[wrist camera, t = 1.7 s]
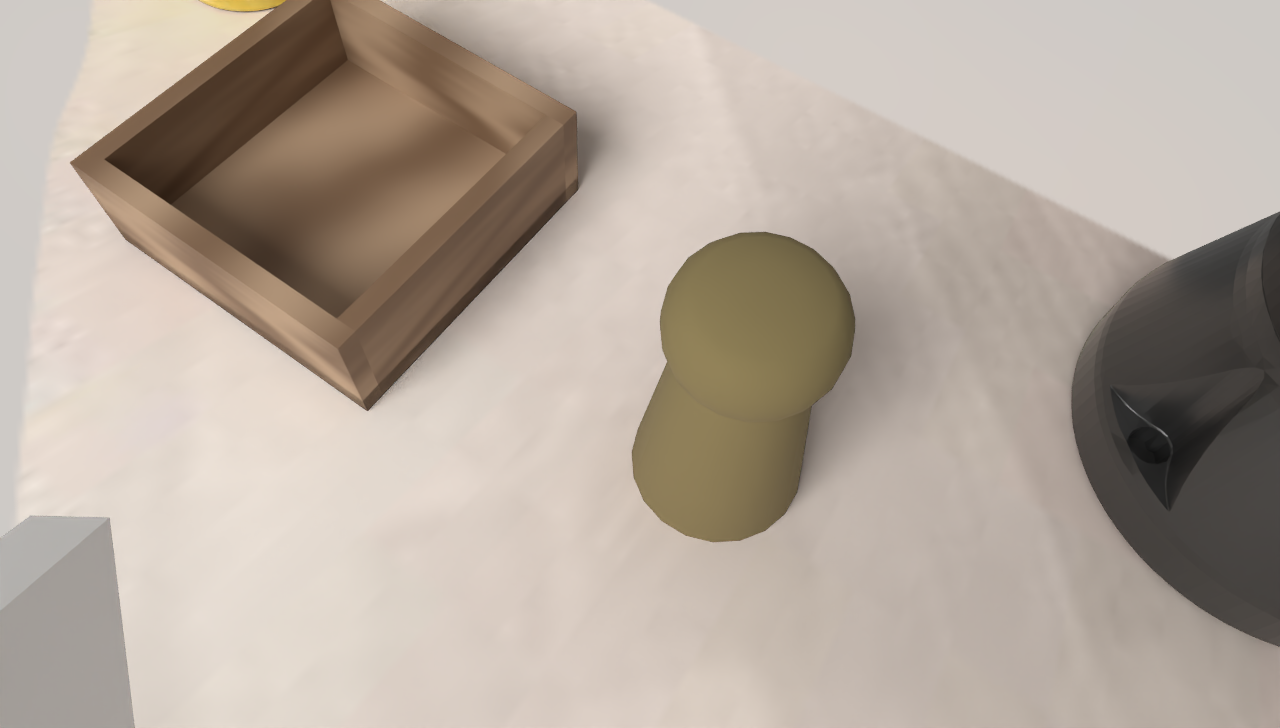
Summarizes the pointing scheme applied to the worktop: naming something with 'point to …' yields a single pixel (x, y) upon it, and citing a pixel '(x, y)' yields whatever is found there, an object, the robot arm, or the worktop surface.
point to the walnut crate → (339, 183)
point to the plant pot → (243, 4)
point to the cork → (740, 383)
